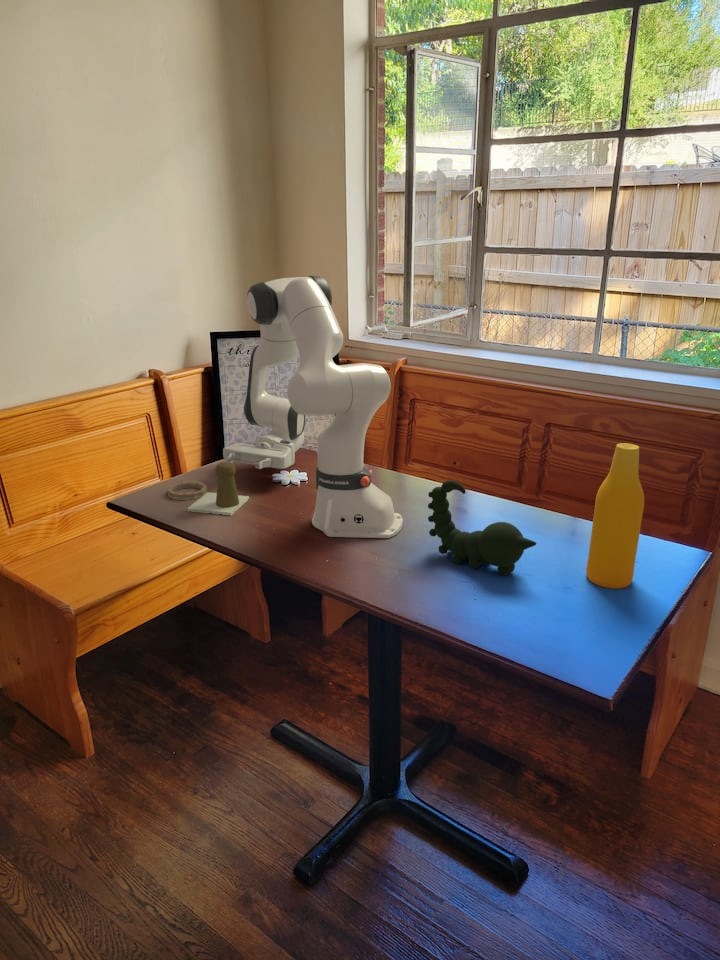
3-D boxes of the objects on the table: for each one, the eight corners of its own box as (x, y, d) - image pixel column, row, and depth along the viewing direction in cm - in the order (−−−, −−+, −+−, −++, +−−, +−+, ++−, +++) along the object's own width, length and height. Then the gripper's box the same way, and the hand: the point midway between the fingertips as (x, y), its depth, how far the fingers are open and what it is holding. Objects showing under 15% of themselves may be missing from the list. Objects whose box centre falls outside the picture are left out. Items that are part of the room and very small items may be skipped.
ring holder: (213, 488, 193) (213, 483, 192) (196, 501, 183) (196, 496, 183) (179, 485, 195) (179, 480, 195) (161, 497, 185) (160, 492, 185)
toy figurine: (422, 563, 153) (525, 589, 138) (419, 482, 148) (525, 500, 132) (445, 549, 160) (545, 573, 145) (442, 471, 155) (547, 487, 139)
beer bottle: (576, 577, 144) (593, 445, 134) (600, 564, 150) (617, 436, 140) (617, 594, 137) (638, 456, 128) (640, 580, 143) (662, 446, 133)
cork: (233, 508, 177) (231, 468, 173) (212, 506, 178) (209, 466, 174) (242, 500, 182) (240, 460, 178) (221, 498, 183) (219, 459, 180)
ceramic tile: (249, 499, 185) (248, 496, 185) (231, 515, 174) (230, 512, 174) (207, 495, 188) (207, 492, 188) (187, 511, 177) (187, 508, 177)
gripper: (237, 435, 204) (210, 447, 192) (298, 443, 196) (274, 457, 184) (238, 455, 206) (211, 469, 194) (299, 464, 198) (274, 479, 186)
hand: (242, 463), depth 189 cm, fingers open, 8 cm apart
